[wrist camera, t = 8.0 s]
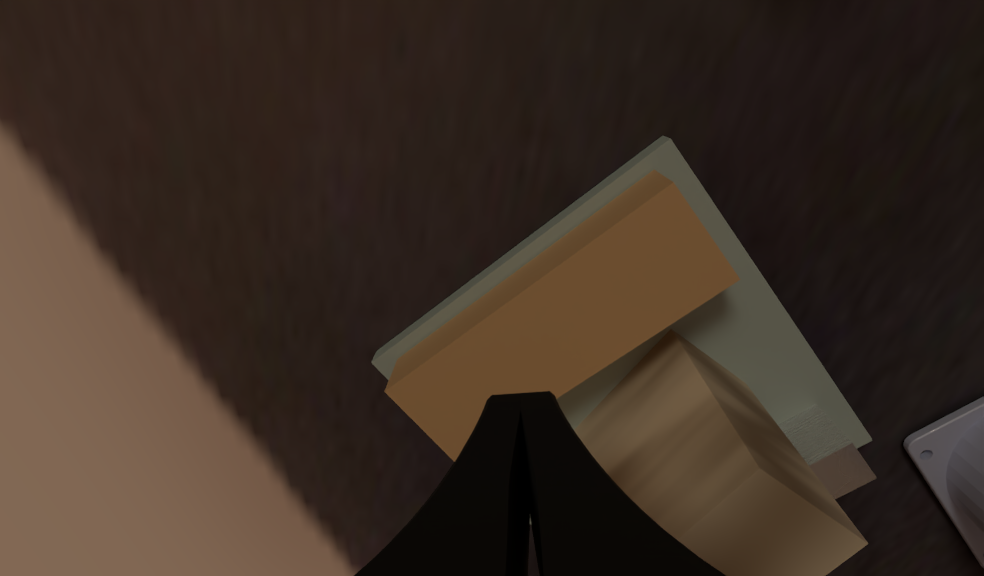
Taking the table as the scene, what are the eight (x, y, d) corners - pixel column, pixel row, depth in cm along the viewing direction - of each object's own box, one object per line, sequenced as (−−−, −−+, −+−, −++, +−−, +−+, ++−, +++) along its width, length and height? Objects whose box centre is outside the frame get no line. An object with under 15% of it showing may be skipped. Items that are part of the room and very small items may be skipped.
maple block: (745, 383, 22) (868, 543, 14) (628, 493, 24) (682, 682, 16) (671, 328, 21) (759, 468, 14) (557, 447, 23) (579, 624, 16)
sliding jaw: (714, 256, 20) (740, 279, 18) (461, 425, 23) (456, 463, 21) (654, 169, 19) (673, 182, 16) (397, 358, 22) (384, 391, 19)
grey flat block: (858, 425, 23) (914, 481, 20) (590, 570, 27) (601, 638, 24) (662, 135, 19) (693, 147, 16) (376, 350, 23) (354, 396, 20)
